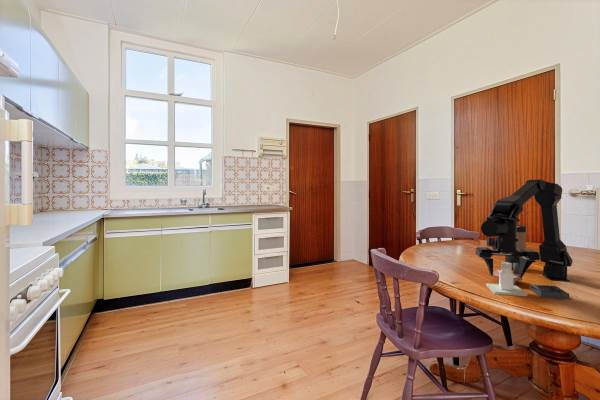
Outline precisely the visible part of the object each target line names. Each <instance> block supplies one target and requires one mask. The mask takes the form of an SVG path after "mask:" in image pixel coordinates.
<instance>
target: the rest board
mask: <svg viewBox="0 0 600 400" xmlns="http://www.w3.org/2000/svg"><path fill="white" fill-rule="evenodd" d="M485 286H486V287H487V288H488V289H489V290H490V291H491V292H492V293H493V294H494V295H503V296H504V295H505V296H516V297H517V296H518V297H528V293H526V292H525V291H524V290H522V289H521V288H520V287H519V286H517V285H516V284H515V285H514V288H513V290H504V289H501V288H500V286H499V283H498V284H497V283H485Z"/></svg>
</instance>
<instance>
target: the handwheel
mask: <svg viewBox="0 0 600 400" xmlns="http://www.w3.org/2000/svg"><path fill="white" fill-rule="evenodd" d="M501 270H502V269H501ZM501 270H500V269H499V270H498V269H497V270H493V276H492V277H493V278H496V279H497V280H498V279H499V271H501ZM512 272H513V274H514V281H515V282H519V281H523V277H522V278H520V277H519V264H518V263H513V270H512Z"/></svg>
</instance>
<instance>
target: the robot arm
mask: <svg viewBox="0 0 600 400" xmlns="http://www.w3.org/2000/svg"><path fill="white" fill-rule="evenodd" d="M562 194H563V188H562V186H561V185H559V184H558V183H554V182H549V181H546V180H545V179H540V178H539V179H536V178H535V179H528V180H526V181H525V183H524V184H523V185H522V186H520V187H519V188H518V189H517V190H516V191H515V192H513V193H512V194H511V195H509V196H506V197H505V196H504V197H502V198H500V199H498V200H496V202H495V204H493V207H492V209H491V211H490V213H489V215H488V217H486V220H485V221H484V222H482V224H481V225H480V231H481V232H482V234H483V235H484V236H485V237H487V238H486V246H487V247H486V246H485V247H484V246H483V247H482V246H477V247H476V248H475V255H476V256H478V257H479V258H480V259H482V260H484V262H485V264H486V266H487V269H488V271H489V274H490V276H491V277H493V271H494V258H492V257H493V256H501V257H502V256H503V257H505V256H520V257H519V259H520V269H519V277H520V278H522V279H523V277H524V275H525V273H526V272H527V270H529V268H530V266H531V265H532V264H533V263H536V262H537V261H540V262H542V263H544V265H543V270H542V272H543V273H542V276H543V277H545V278H547V280H550V281H561V282H562V281H563V282H570V279H569V278H568V267H570V268H571V267H572V264H573V258H572V256H571V255H570V253H569V252H568V249H567V245H566V244H565V243H564V242H563V241H562V240H561V237H560V235H561V234H560V225H559V215H558V203H559V202H561V199H562ZM533 197H534V201H535V202H536V203H537V204H538V205H539V206H540V211H541V220H542V221H541V222H542V229H543V241H542V243H541V244H539V246H538V249H539V251H538V250H537V251H536V250H534V249H532V248H531V249H530V248H529V249H528V248H526V249H521V250H520V251H518V250H516V242H518V239H517V225H518V224H517V223H519V222H520V221H521V220H520V218H519V217H518V216H520V215H521V213H522V211H524V205H525V204H526V203H527V202H528V201H529V200H530V199H532V198H533ZM493 237H495V239H494V238H493ZM490 247H491V248H492V249H491V248H490ZM508 253H511V254H508Z"/></svg>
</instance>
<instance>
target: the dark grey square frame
mask: <svg viewBox="0 0 600 400" xmlns="http://www.w3.org/2000/svg"><path fill="white" fill-rule="evenodd" d="M529 290H530V291H531V292H532V293H534V294H535V293H536V294H535V295H537V296H538V297H539V298H544V299H553V300H556V299H557V300H566V299H569V300H570V293H569V292H567V291H565V290H563V289H562V288H561V287H558V286H556V285H548V284H533V283H530V284H529Z"/></svg>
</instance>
